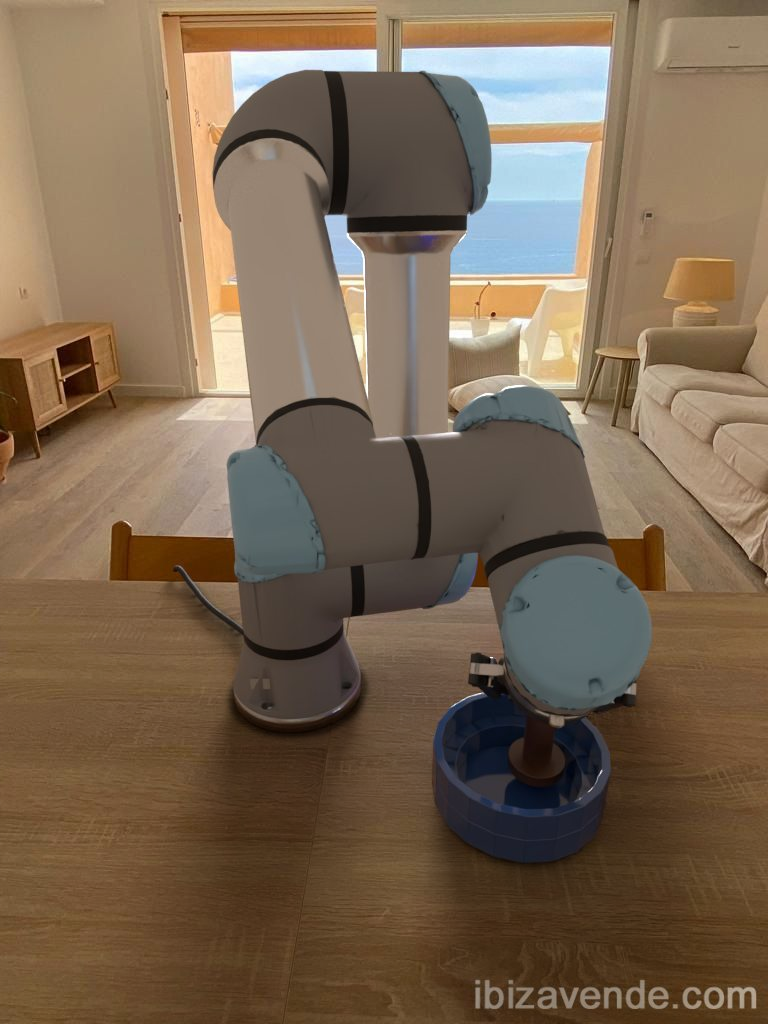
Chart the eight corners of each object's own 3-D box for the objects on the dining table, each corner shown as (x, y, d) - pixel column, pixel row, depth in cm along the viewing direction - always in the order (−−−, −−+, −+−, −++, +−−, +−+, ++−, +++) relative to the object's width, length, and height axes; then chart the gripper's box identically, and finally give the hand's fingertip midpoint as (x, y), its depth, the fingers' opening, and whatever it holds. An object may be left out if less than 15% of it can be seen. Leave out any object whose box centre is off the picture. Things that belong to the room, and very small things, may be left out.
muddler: (497, 753, 71) (507, 631, 64) (544, 739, 73) (558, 618, 66) (526, 794, 66) (540, 666, 60) (576, 777, 68) (594, 651, 61)
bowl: (406, 761, 74) (407, 713, 71) (540, 720, 79) (545, 674, 76) (482, 894, 60) (486, 841, 57) (638, 834, 65) (649, 783, 62)
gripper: (439, 705, 49) (458, 725, 71) (676, 739, 46) (620, 749, 68) (451, 601, 52) (467, 652, 73) (677, 627, 48) (623, 672, 70)
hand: (540, 699), depth 71 cm, fingers closed on muddler, 3 cm apart
